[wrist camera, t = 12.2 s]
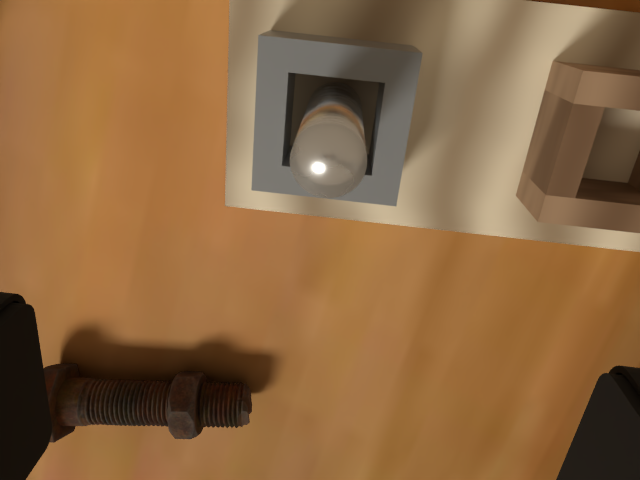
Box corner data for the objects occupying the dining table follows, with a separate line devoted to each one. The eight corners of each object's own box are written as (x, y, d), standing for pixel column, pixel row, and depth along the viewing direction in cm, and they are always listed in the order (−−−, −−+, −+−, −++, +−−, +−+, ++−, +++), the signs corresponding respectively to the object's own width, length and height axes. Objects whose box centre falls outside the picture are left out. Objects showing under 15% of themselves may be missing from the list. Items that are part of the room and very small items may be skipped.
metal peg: (364, 84, 29) (372, 127, 20) (357, 138, 30) (362, 201, 21) (310, 79, 29) (292, 119, 20) (305, 133, 30) (287, 193, 21)
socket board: (760, 26, 28) (849, 33, 23) (667, 245, 33) (722, 289, 28) (236, -31, 28) (211, -37, 23) (230, 197, 33) (209, 232, 28)
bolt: (256, 378, 42) (70, 375, 42) (250, 353, 38) (44, 349, 38) (249, 455, 39) (47, 450, 39) (241, 436, 35) (15, 431, 35)
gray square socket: (413, 45, 28) (422, 53, 24) (390, 181, 31) (396, 206, 27) (270, 30, 28) (258, 35, 24) (262, 167, 31) (251, 190, 27)
